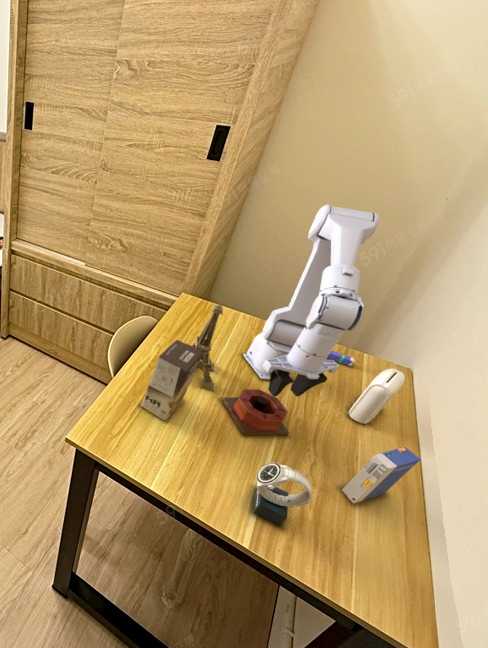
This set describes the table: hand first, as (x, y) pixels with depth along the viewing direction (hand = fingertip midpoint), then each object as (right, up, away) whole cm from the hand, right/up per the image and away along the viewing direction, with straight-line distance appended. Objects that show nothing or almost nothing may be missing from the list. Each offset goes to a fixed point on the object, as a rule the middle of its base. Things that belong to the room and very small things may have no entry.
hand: (283, 392), depth 89 cm
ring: (-3, -6, +4) cm, 8 cm away
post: (-4, -7, +5) cm, 9 cm away
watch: (-13, -19, -13) cm, 26 cm away
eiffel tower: (-12, +2, +17) cm, 21 cm away
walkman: (+8, -17, -10) cm, 22 cm away
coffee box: (-24, -5, +8) cm, 26 cm away
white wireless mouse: (+24, -6, +7) cm, 26 cm away
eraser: (+31, +4, +22) cm, 38 cm away
